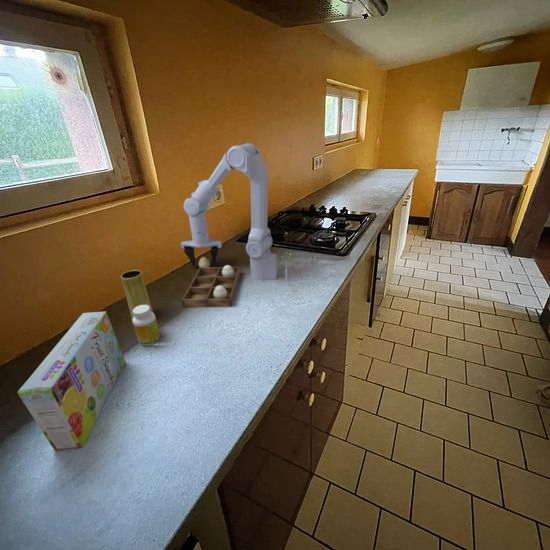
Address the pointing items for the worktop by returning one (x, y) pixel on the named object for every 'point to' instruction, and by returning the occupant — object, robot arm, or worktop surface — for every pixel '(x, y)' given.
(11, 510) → the worktop surface
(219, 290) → the cream egg near
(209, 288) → the egg tray
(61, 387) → the snack box
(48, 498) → the worktop surface
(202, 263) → the beige egg
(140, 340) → the supplement bottle
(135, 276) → the vase
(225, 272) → the cream egg far
